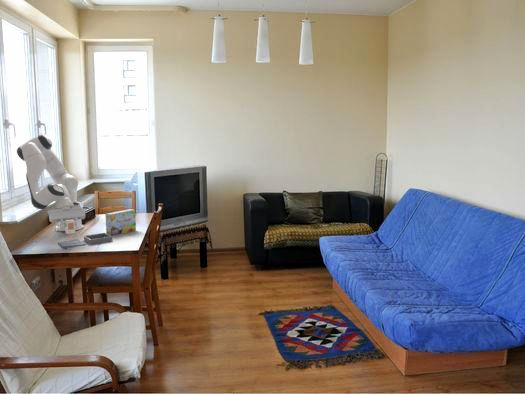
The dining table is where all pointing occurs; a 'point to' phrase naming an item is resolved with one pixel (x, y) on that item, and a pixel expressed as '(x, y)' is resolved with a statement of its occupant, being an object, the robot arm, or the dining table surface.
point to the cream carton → (70, 226)
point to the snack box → (120, 222)
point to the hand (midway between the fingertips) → (70, 225)
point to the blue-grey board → (71, 243)
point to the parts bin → (97, 238)
